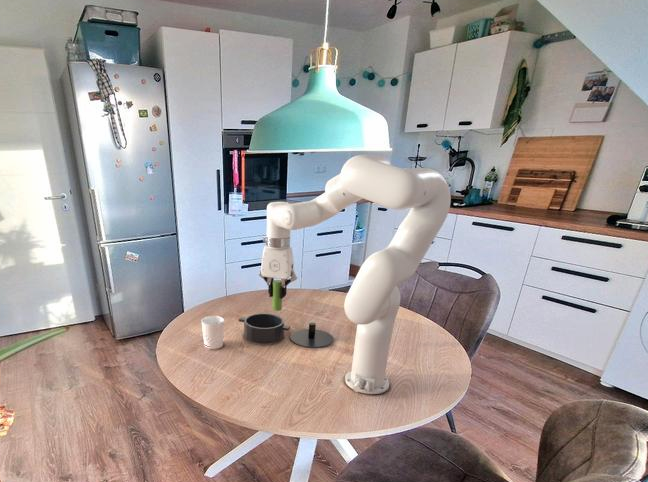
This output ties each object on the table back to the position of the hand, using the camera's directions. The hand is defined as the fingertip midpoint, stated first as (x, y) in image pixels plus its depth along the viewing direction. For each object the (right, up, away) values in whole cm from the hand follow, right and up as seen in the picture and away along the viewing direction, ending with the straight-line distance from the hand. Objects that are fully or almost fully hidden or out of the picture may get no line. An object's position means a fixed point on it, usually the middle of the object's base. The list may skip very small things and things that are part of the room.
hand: (277, 296), depth 131 cm
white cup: (-22, -17, +8) cm, 29 cm away
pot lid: (+14, -15, +11) cm, 23 cm away
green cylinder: (0, -4, +2) cm, 5 cm away
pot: (-4, -14, +15) cm, 21 cm away
